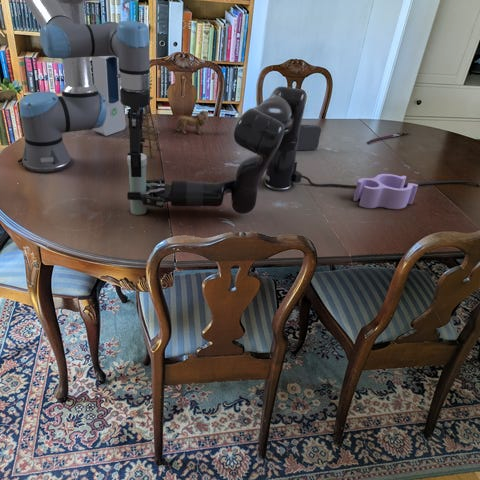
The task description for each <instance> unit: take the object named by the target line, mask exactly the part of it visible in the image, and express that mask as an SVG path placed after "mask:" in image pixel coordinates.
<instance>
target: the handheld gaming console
mask: <svg viewBox="0 0 480 480" xmlns="http://www.w3.org/2000/svg"><path fill="white" fill-rule="evenodd" d="M321 133H322V127H321V126H319V125H318V124H301V128H300V134H299V140H298V146H297V151H312V150H317V148H318V147H319V144H320V137H321Z"/></svg>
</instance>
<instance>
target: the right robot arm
mask: <svg viewBox="0 0 480 480" xmlns="http://www.w3.org/2000/svg"><path fill="white" fill-rule="evenodd" d="M306 103H307V92H306V91H305V90H304V89H301V88H295V87H289V86H277V87H275V88H274V90H273V91H272V93H271V94H270V95H269V97H267V98H266V99H265V100H263V101H262V102H261V103H260V104H259V105H257V106H254V107H251V108H248V109H247V110H246V111H245V112H243V114H242V115H241V116H240V117H239V118H238V120H237V122H236V124H235V126H234V130H233V139H234V142H235V143H236V144H237V145H238V146H240V147H241V148H244V149H245V150H247V151H250V152H252V153H253V154H255V155H252V156H250V157H248V158H246V159H244V160H243V161H242V162H240V163H239V165H238V167H237V170H236V173H235V176H234V177H235V178H234V179H230V180H225V181H220V182H203V181H196V180H177V179H175V180H172V181H171V184H168V183H166V179H165V178H158V179H146V192H142V193H141V192H130V184H129V185H128V189H129V191H127V194H126V199H127V200H129V201H130V200H141V201H142V202H143V205H146V206H147V207H148V206H149V207H154V208H161V209H162V208H164V203H170V204H171V205H170V206H172V207H187V208H188V207H192V208H195V207H198V208H199V207H215V208H216V207H221V206H222V205H223V203H224V197H225V195H228V194H230V204H231V208H232V209H233V211H234V212H236V213H237V214H240V215H245V214H249V213H251V212H252V211H253V210H254V209H255V207H256V205H257V197H258V188H259V187H260V184H261V181H262V178H263V176H264V175H265V176H264V178H265V179H264V182H263V184H264V186H265V187H267V188H268V189H270V190H274V191H280V192H281V191H288V190H290V189H291V188H292V187H294V184H296V183H301V182H302V179H305V180H307V181H308V183H309V184H310V185H311V186H314V187H341V188H353V189H354V188H355V189H356V187H357V184H356V185H354V184H353V185H352V184H342V183H341V184H340V183H322V184H318V183H314V182H312V181H311V179H310V178H309V177H307V176H305V175H304V174H302V173H301V172H300V171H298V170H297V166H298V160H297V159H296V158H297V153H298V150H297V146H298V140H299V134H300V128H301V125H302V122H303V118H304V113H305V109H306V105H307V104H306ZM264 173H265V174H264ZM463 181H465V182H463ZM469 182H471V183H469ZM474 183H476V184H475V185H476V186H477V187H478V188H480V183H479V182H477V181H474V180H441V181H429V182H418V183H416V184H417V185H418V186H425V185H440V184H474ZM407 185H408V183H407V184H404V186H403V188H406V187H407Z"/></svg>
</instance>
